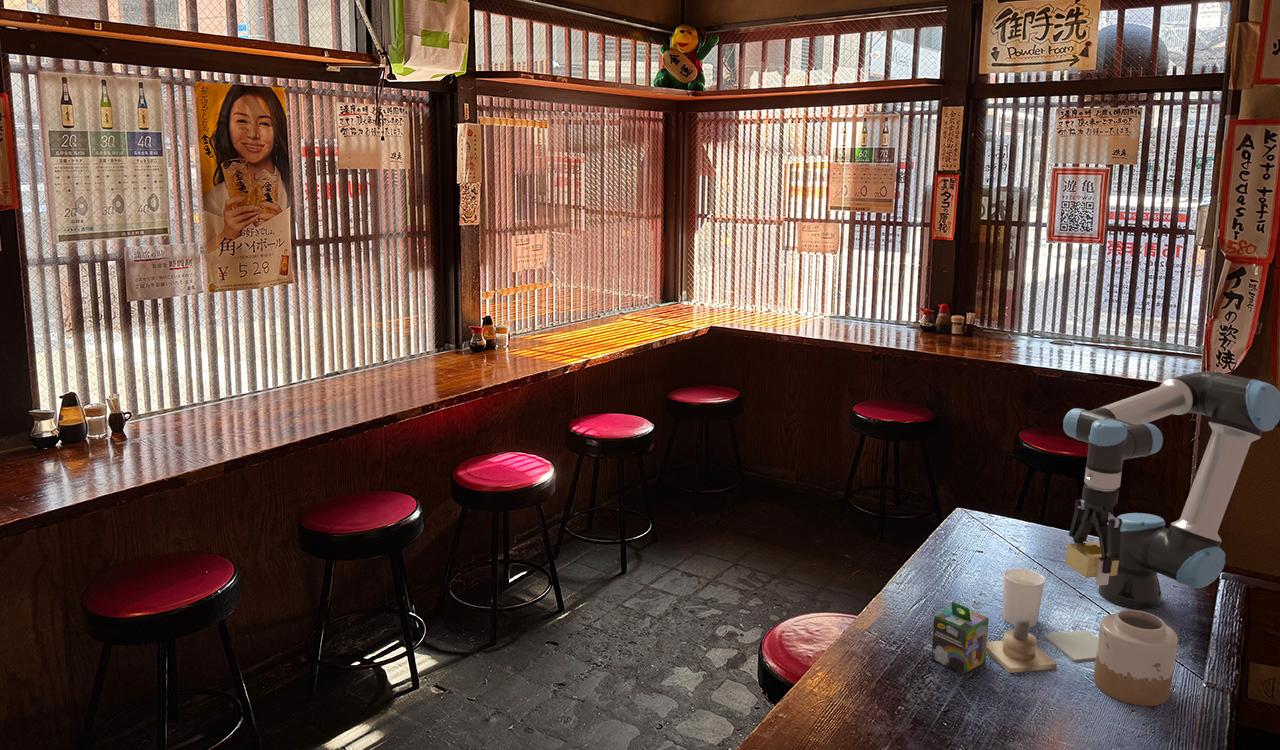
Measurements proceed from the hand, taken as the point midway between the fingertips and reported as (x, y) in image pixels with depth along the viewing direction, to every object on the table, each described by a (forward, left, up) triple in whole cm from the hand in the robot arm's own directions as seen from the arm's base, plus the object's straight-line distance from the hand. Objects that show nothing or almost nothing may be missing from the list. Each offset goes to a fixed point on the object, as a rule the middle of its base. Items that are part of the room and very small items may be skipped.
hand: (1089, 576), depth 223 cm
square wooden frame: (0, 0, +2) cm, 2 cm away
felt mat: (0, 0, -19) cm, 19 cm away
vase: (0, +18, -19) cm, 26 cm away
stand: (+18, +2, -19) cm, 26 cm away
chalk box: (+33, +1, -19) cm, 38 cm away
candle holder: (+7, -15, -19) cm, 25 cm away
